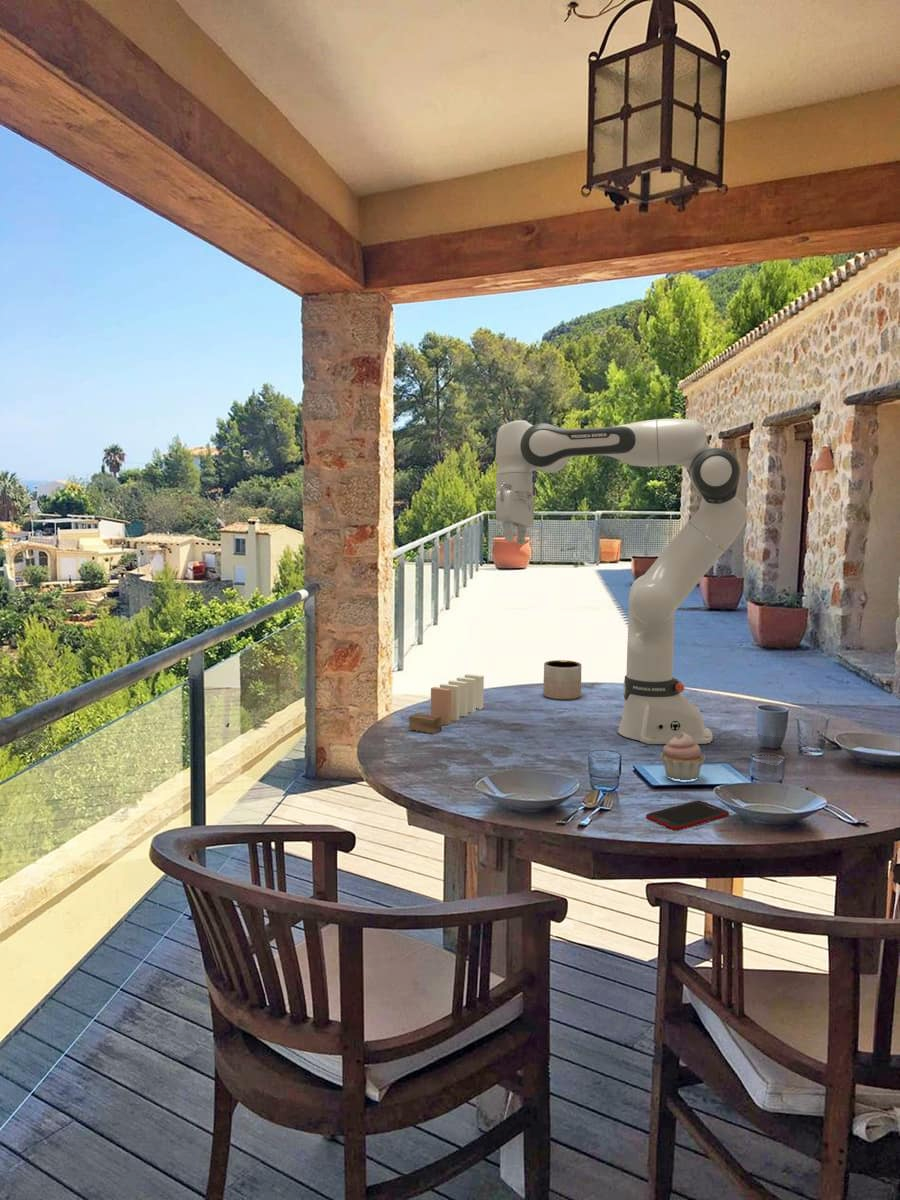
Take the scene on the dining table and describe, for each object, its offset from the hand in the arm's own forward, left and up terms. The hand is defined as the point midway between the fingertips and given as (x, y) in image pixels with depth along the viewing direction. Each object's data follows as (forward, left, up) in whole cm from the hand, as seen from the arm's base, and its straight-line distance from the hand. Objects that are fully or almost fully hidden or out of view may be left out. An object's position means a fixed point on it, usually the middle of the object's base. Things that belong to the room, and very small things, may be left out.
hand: (515, 543), depth 221 cm
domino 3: (+15, -8, -46) cm, 49 cm away
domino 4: (+14, -13, -46) cm, 50 cm away
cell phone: (-37, +57, -47) cm, 82 cm away
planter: (-11, -34, -47) cm, 59 cm away
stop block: (+21, +8, -46) cm, 51 cm away
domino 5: (+12, -17, -46) cm, 51 cm away
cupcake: (-38, +35, -47) cm, 69 cm away
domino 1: (+18, 0, -46) cm, 50 cm away
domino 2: (+17, -4, -46) cm, 49 cm away
